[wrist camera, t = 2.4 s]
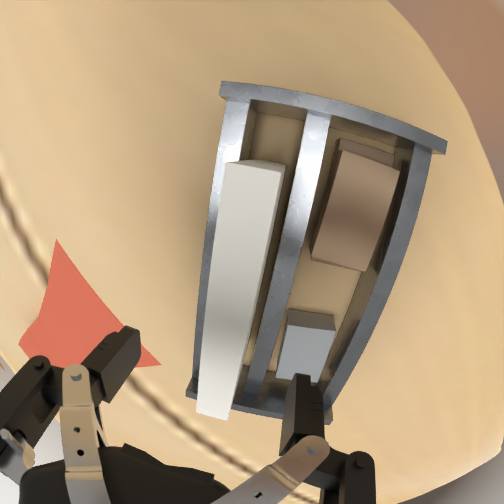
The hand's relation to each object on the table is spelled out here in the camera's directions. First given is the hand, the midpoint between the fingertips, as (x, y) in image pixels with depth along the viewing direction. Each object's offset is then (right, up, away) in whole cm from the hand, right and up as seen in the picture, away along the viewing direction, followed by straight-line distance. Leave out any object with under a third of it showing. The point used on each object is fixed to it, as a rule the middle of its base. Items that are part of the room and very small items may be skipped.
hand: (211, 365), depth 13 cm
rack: (+6, +4, +12) cm, 14 cm away
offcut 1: (+7, -4, +15) cm, 17 cm away
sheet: (-25, -7, +22) cm, 34 cm away
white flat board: (+2, +5, +13) cm, 14 cm away
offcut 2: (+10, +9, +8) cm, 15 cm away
